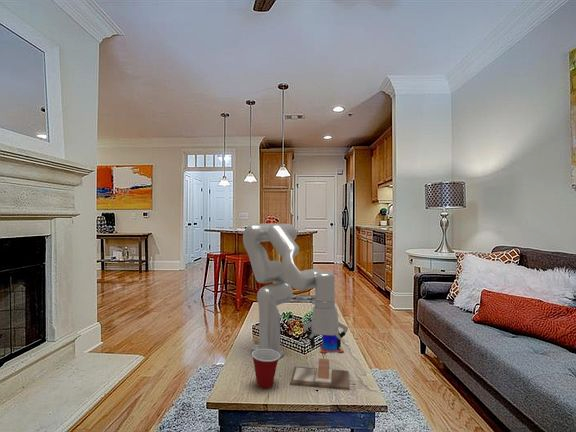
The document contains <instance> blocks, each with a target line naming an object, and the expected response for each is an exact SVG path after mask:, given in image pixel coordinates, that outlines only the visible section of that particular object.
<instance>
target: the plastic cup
mask: <svg viewBox="0 0 576 432" xmlns="http://www.w3.org/2000/svg"><path fill="white" fill-rule="evenodd" d="M251 356H252V360H253V367H254V372H255V378H256V384H257V387H258V388H259V389H262V390H263V389H264V390H265V389H266V390H267V389H270V388H272V387H273V385H274V381H275V376H276V370H277V365H278V362H279V358H280V354H279V352H277V351H275V350H271V349H257V350H252V351H251ZM280 359H281V358H280Z"/></svg>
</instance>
